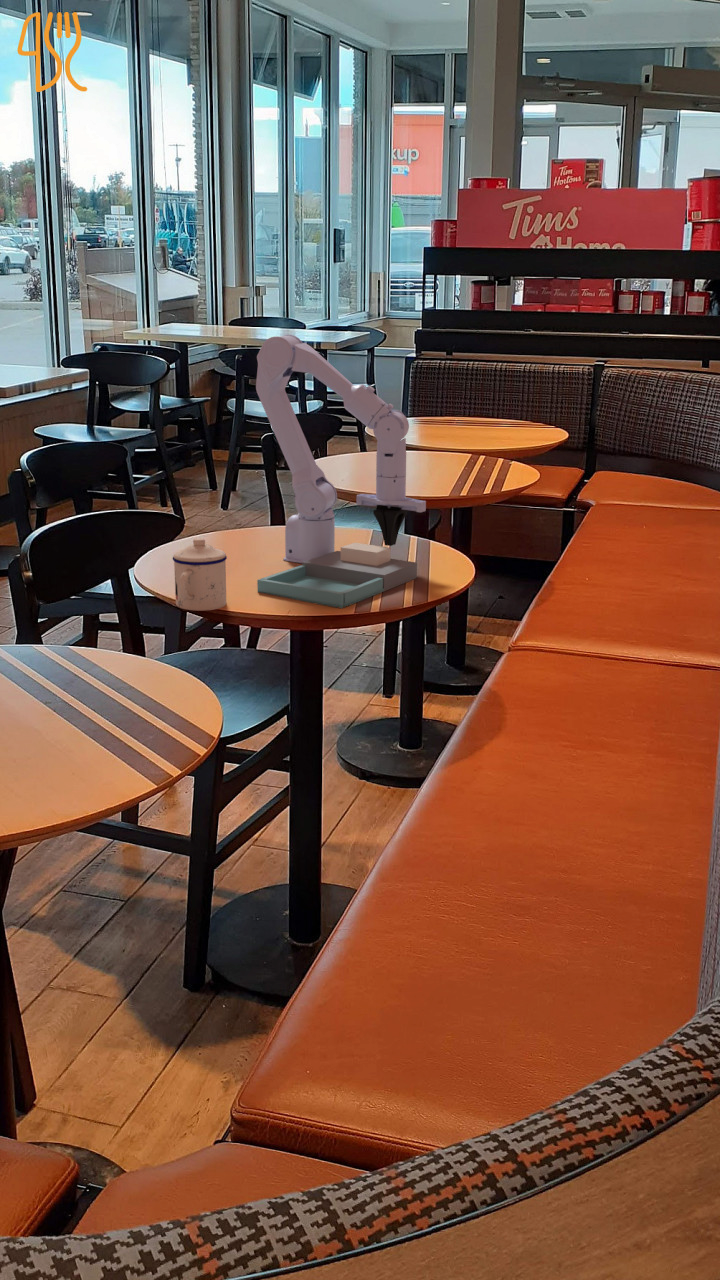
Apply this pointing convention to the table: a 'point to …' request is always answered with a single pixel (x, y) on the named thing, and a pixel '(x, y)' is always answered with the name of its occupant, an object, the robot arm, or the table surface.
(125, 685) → the table surface
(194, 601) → the teacup with lid
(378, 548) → the cream tile
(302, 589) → the tray
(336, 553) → the bench plate
